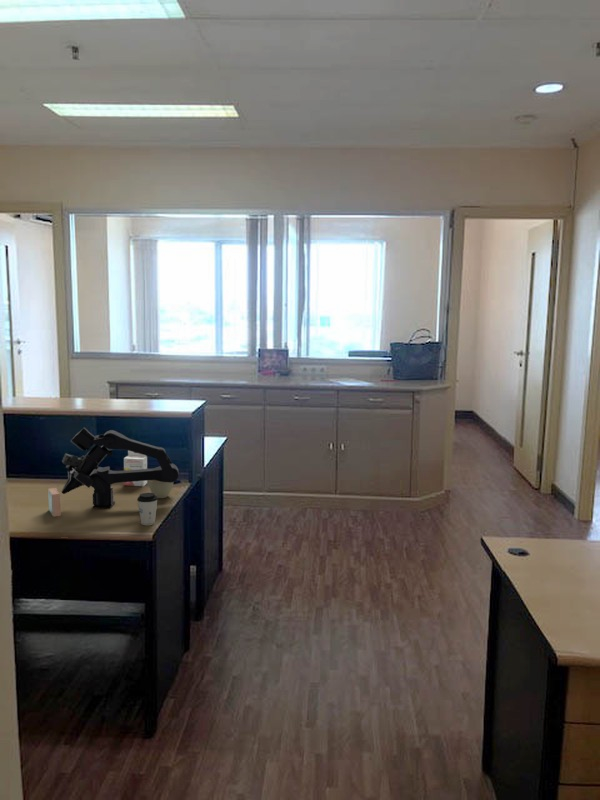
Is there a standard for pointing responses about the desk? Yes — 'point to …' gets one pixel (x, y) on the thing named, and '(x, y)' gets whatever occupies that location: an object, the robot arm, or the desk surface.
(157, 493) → the beige bowl
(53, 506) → the tile
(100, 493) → the robot arm
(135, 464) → the ink cartridge box
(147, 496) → the coffee cup
